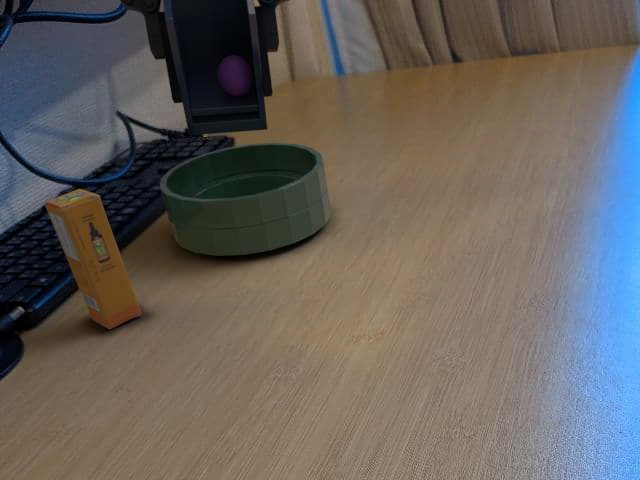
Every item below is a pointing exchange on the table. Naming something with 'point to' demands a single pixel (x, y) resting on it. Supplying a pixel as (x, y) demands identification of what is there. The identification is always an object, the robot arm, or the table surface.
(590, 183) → the table surface
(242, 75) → the ball
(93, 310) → the supplement box
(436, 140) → the table surface
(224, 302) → the table surface
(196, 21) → the dark grey open holder
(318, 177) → the bowl
